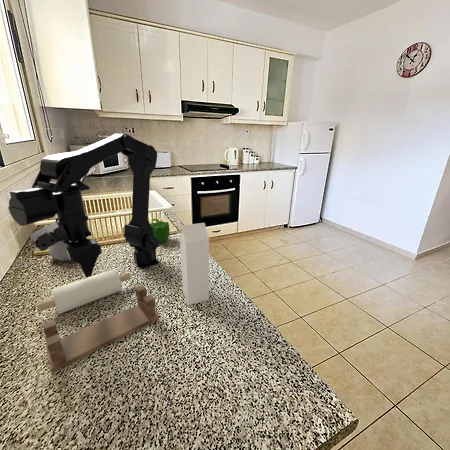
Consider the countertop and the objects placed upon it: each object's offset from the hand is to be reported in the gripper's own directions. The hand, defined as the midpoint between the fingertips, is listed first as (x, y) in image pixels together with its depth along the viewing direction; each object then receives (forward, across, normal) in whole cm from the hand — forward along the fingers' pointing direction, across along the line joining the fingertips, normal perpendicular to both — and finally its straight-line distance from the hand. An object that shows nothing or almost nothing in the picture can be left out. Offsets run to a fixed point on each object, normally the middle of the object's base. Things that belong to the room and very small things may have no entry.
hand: (83, 268), depth 62 cm
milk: (+10, +17, +23) cm, 30 cm away
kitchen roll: (+7, 0, 0) cm, 7 cm away
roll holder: (+10, +15, 0) cm, 18 cm away
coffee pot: (+10, -26, +2) cm, 28 cm away
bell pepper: (+10, -22, +32) cm, 40 cm away
